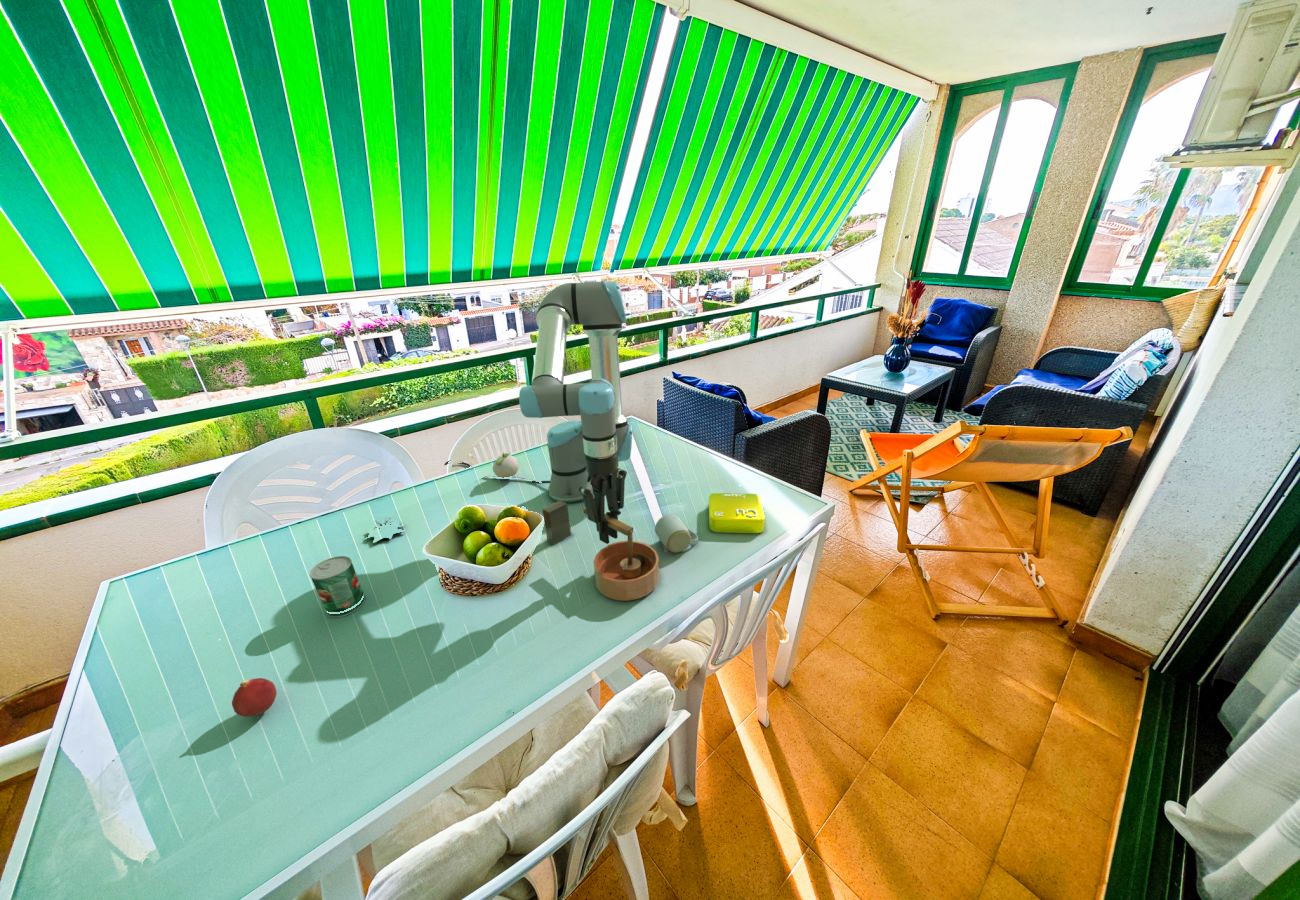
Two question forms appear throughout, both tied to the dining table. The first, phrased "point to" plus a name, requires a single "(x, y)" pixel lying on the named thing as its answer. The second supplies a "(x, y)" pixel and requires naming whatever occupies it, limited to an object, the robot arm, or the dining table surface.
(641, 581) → the bowl
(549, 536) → the dark upright slab
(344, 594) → the canned tomato
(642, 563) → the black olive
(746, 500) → the element tile
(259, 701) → the red plum
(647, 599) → the dining table surface
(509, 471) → the decorative fruit
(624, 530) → the ladle
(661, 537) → the ceramic mug
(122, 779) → the dining table surface
